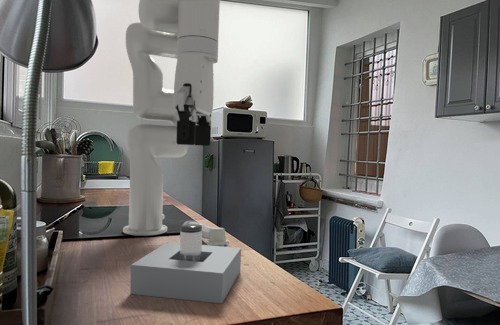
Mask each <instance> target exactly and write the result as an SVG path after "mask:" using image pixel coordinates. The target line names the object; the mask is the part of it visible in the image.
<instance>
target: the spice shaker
mask: <svg viewBox="0 0 500 325" xmlns="http://www.w3.org/2000/svg"><path fill="white" fill-rule="evenodd" d="M179 227H180V230H179V231H180V232H179V233H180V234H179V238H180V240H179V243H180V260H184V261H195V262H202V245H203V238H202V225H199V224H185V225H182V224H181V225H180V226H179Z"/></svg>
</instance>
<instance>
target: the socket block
mask: <svg viewBox="0 0 500 325" xmlns="http://www.w3.org/2000/svg"><path fill="white" fill-rule="evenodd" d="M241 262H242V248H241V247H235V246H227V247H222V246H210V245H208V244H202V262H195V261H184V260H180V242H171V241H168V242H164V243H163V244H162V245H160V246H159V247H157V248H156V249H154V250H153V251H150V252H149V253H148V254H146V255H145V256H144V255H143V257H141V258H140V259H138V260H137V261H135V262H133V263H132V264H130V295H138V296H147V297H156V298H165V299H166V298H167V299H175V300H186V301H193V302H194V301H195V302H204V303H212V304H214V303H215V304H223V303H224V301H225V299H226V297H227V295H228V294H229V292H230V291H231V289H232V287H233V285H234V284H235V281H236V280H237V278H238V277H239V274H240V273H241V264H242V263H241Z"/></svg>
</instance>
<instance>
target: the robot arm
mask: <svg viewBox="0 0 500 325" xmlns="http://www.w3.org/2000/svg"><path fill="white" fill-rule="evenodd" d="M220 2H221V1H220V0H139V2H138V18H139V22H133V23H131V24H129V25H128V26H127V28H126V31H125V47H126V53H127V56H128V60H129V63H130V67H131V70H132V97H133V98H132V107H133V113H134V115H135V117H137V119H141V120H145V121H146V120H147V121H153V122H154V121H155V122H167V123H170V125H167V124H166V125H163V124H151V123H149V124H147V123H140V124H135V125H134V126H132V127H131V128H130V129H129V130H128V133H127V144H128V153H129V154H128V155H129V197H128V199H129V203H128V204H129V206H128V210H129V211H128V225H125V226H123V227H122V232H123V233H124V234H125V235H131V236H143V237H147V236H148V237H149V236H157V235H162V234H165V233H166V232H168V226H167V225H165V224H163V220H164V219H165V218H166V215H165V214H164V213H163V211H164V210H163V209H164V208H163V206H164V205H163V204H164V202H163V201H164V171H163V168H162V167H161V165H160V163H158V161H157V160H156V159H155V158H181V157H185V155H186V154H187V152H188V147H189V146H202V147H203V146H204V147H205V146H206V147H208V146H209V147H210V145H211V140H212V139H211V136H212V135H211V132H212V119H211V118H212V113H213V108H214V65H215V64H216V63H218V61H219V60H218V59H219V57H218V56H219V34H220V33H219V31H220V30H219V28H220V6H221V5H220V4H221V3H220ZM151 56H156V57H157V56H158V57H162V58H163V57H164V58H170V59H176V66H175V73H174V85H173V89H165V88H164V86H163V83H164V82H163V81H164V75H163V72H162V69H161V68H160V66H159V65H158V63H157V62H156V61H155V60H154V58H152V57H151Z"/></svg>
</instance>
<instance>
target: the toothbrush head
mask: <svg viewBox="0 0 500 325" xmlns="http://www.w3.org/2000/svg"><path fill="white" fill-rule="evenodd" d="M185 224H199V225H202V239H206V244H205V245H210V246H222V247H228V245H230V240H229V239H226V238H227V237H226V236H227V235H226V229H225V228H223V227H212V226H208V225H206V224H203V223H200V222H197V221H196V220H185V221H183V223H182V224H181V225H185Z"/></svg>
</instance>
